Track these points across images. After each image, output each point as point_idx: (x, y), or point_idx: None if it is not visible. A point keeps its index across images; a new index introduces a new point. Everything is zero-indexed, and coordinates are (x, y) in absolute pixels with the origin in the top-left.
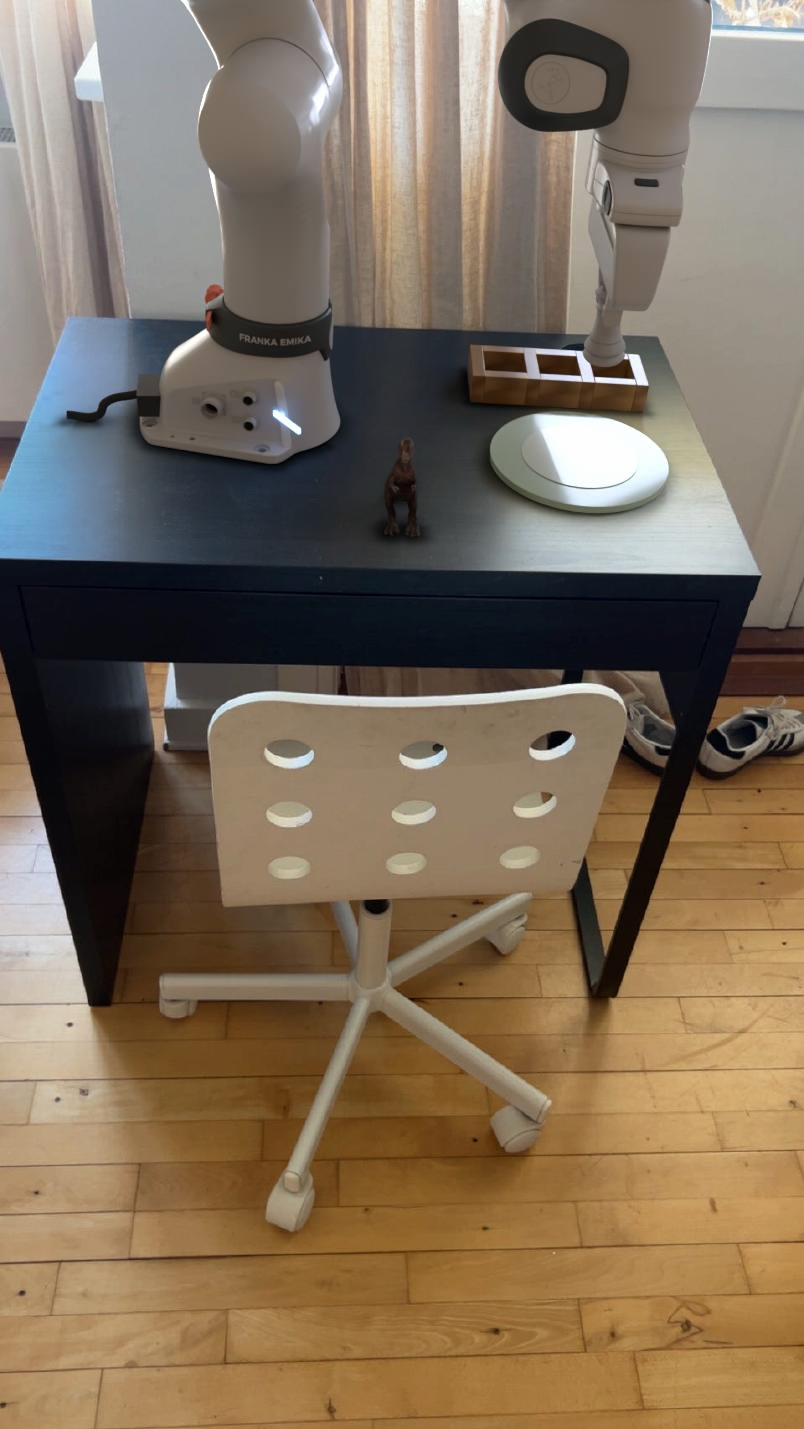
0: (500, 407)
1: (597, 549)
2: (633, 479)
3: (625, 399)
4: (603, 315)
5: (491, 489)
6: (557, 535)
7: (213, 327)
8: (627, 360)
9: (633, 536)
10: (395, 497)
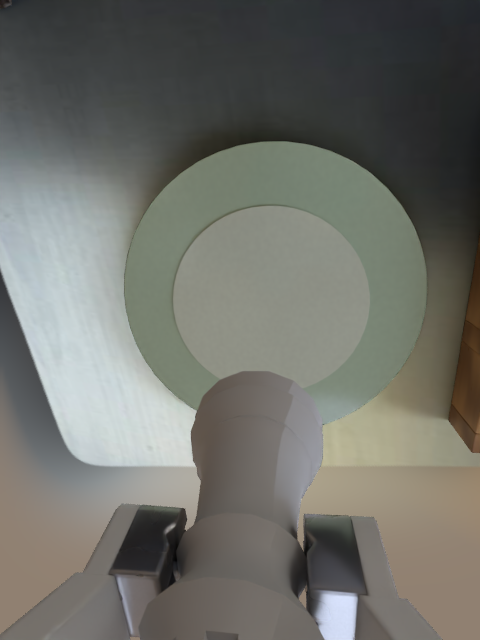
0: (477, 167)
1: (59, 310)
2: (213, 379)
3: (462, 403)
4: (114, 535)
5: (172, 150)
6: (74, 257)
7: None
8: None
9: (103, 359)
10: None
